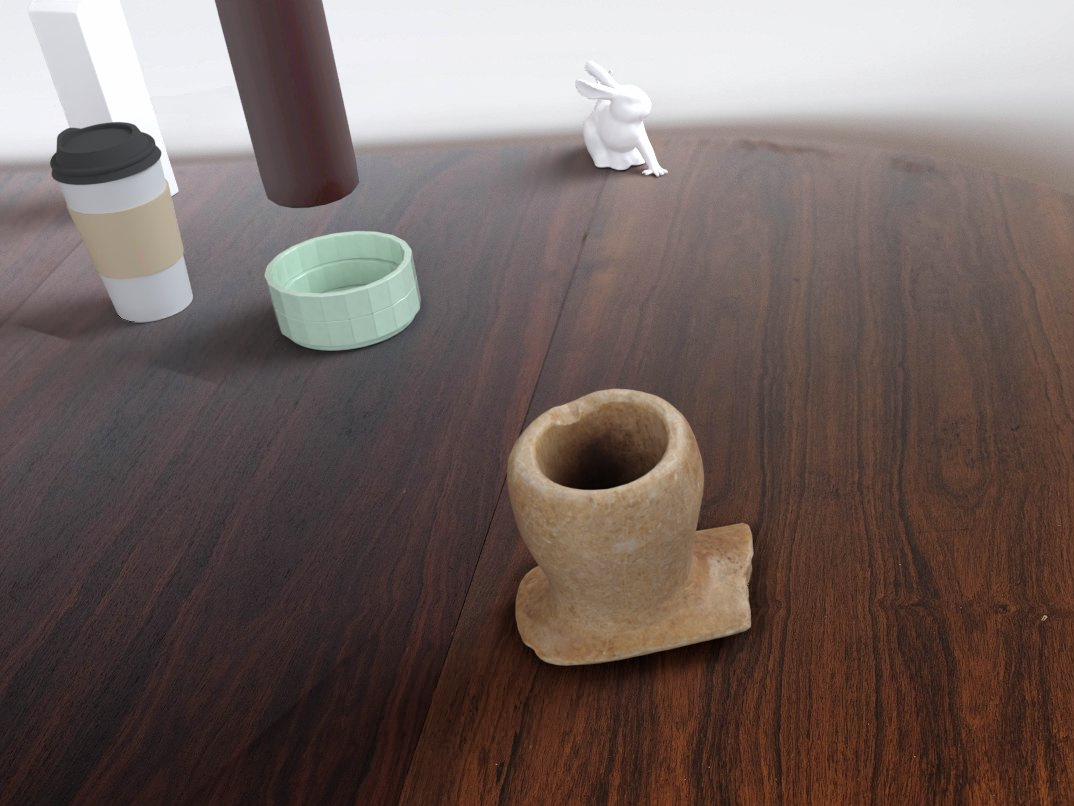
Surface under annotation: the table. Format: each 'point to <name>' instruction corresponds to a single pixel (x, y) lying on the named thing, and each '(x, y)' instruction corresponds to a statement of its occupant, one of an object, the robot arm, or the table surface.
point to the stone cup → (621, 534)
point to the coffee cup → (124, 217)
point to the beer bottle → (291, 99)
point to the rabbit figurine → (617, 123)
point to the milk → (96, 67)
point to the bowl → (344, 290)
